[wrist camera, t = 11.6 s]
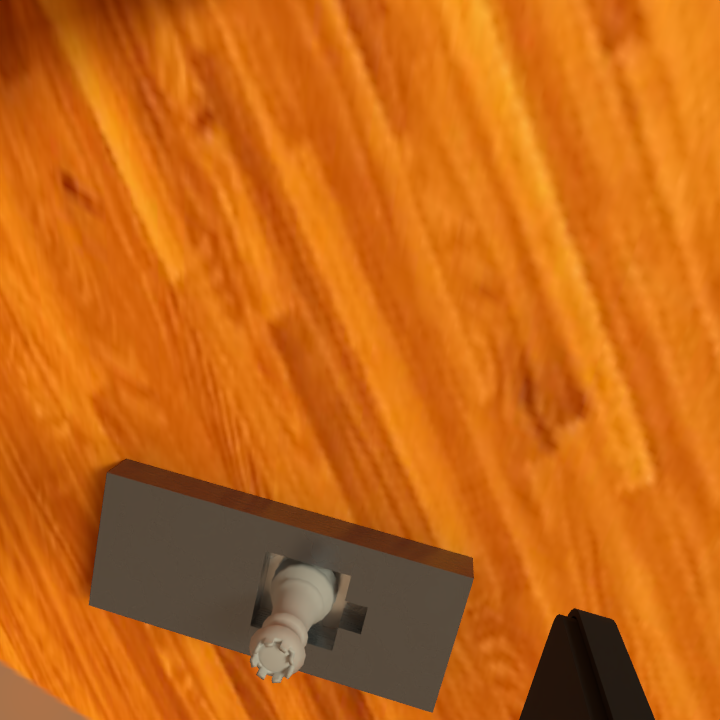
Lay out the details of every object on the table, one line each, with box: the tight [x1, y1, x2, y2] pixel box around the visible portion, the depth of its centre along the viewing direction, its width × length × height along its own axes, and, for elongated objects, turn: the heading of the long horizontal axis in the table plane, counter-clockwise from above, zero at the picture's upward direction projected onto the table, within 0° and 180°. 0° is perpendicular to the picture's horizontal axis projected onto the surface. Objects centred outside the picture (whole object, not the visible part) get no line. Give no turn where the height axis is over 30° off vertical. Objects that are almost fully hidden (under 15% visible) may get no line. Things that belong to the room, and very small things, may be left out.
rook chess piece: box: [249, 558, 338, 683], centre depth 37 cm, size 4×4×8 cm
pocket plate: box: [89, 459, 474, 713], centre depth 41 cm, size 10×24×2 cm, turn 77°
